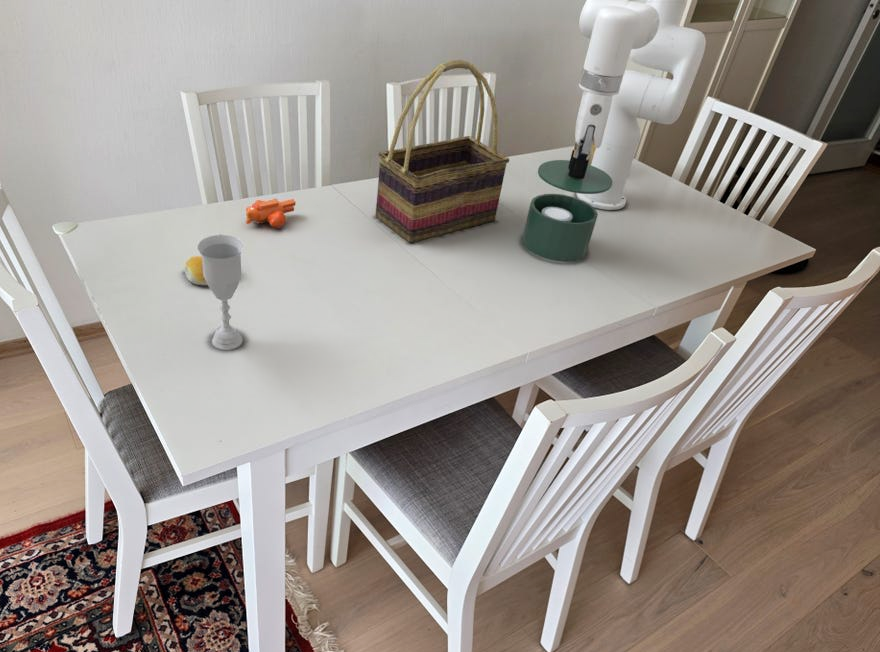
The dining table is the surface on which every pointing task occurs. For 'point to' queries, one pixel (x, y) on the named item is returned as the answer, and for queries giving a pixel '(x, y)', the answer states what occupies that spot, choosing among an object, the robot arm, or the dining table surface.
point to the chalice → (223, 281)
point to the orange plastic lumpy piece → (269, 212)
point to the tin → (559, 228)
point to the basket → (440, 175)
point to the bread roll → (195, 271)
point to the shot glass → (557, 214)
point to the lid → (559, 178)
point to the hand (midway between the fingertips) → (576, 172)
